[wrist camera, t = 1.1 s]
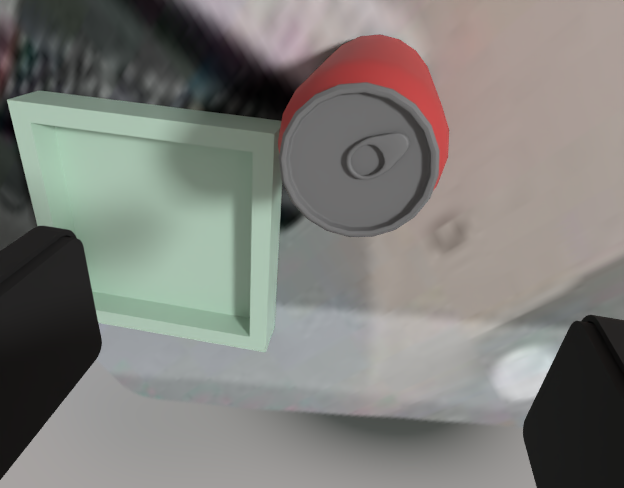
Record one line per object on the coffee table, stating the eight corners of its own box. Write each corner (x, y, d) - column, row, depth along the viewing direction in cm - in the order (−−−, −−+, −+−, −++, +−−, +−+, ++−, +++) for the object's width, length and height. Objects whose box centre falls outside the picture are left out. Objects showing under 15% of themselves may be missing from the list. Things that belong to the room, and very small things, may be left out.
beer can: (452, 117, 26) (488, 202, 16) (352, 171, 29) (326, 275, 18) (398, 7, 24) (398, 21, 14) (294, 76, 26) (227, 133, 16)
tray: (39, 90, 29) (6, 99, 27) (285, 121, 28) (274, 133, 25) (81, 294, 37) (59, 315, 35) (274, 327, 36) (265, 352, 33)
